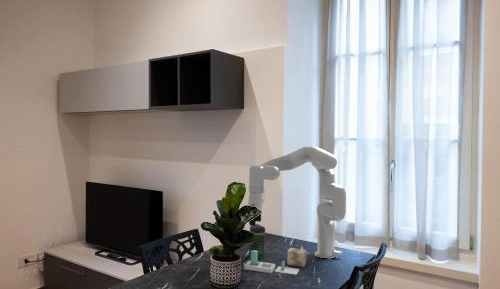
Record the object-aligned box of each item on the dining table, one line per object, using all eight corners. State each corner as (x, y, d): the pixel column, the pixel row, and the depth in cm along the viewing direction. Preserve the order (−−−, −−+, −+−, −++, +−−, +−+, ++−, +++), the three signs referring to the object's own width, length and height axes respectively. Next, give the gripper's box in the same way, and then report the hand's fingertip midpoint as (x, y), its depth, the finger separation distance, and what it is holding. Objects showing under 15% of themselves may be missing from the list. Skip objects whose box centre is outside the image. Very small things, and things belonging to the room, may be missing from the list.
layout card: (299, 270, 178) (299, 261, 178) (296, 275, 171) (296, 266, 171) (278, 267, 182) (278, 258, 182) (274, 272, 174) (275, 263, 174)
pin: (257, 268, 180) (258, 250, 180) (255, 270, 176) (256, 252, 176) (251, 267, 181) (252, 249, 181) (249, 269, 177) (250, 251, 177)
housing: (305, 263, 188) (306, 249, 188) (304, 267, 182) (304, 253, 182) (289, 261, 191) (290, 247, 191) (287, 265, 185) (287, 251, 185)
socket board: (275, 268, 179) (275, 264, 179) (271, 274, 172) (271, 269, 172) (249, 265, 184) (249, 260, 184) (244, 270, 176) (244, 265, 176)
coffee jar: (266, 260, 193) (267, 226, 193) (253, 261, 190) (254, 227, 190) (259, 254, 202) (260, 222, 202) (247, 255, 199) (248, 223, 199)
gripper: (254, 187, 188) (253, 219, 188) (243, 191, 172) (242, 226, 172) (267, 188, 186) (266, 220, 186) (258, 192, 169) (257, 227, 169)
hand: (255, 223), depth 179 cm, fingers open, 9 cm apart
